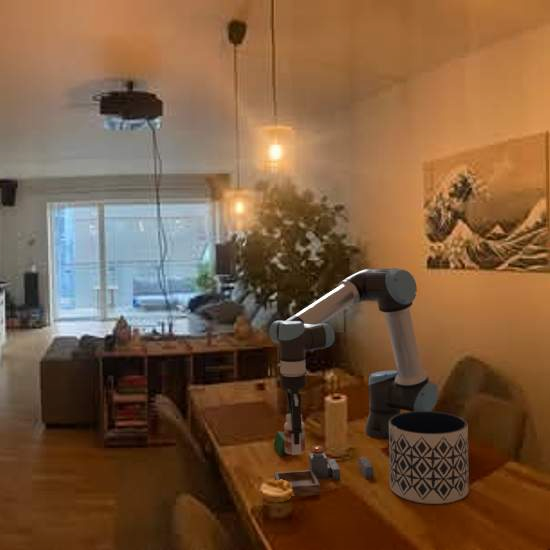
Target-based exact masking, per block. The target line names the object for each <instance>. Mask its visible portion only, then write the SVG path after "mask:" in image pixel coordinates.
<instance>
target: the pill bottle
mask: <svg viewBox="0 0 550 550" xmlns="http://www.w3.org/2000/svg"><path fill="white" fill-rule="evenodd" d="M285 417H286V418H285V419H286V422H285V423H284V425H283V432H284V440H285V452H286V453H287V455H288V454H289V455H292V439H291V434H290V432H292V423H291V413H290V414H288V413H287V414H286V415H285ZM305 427H306V425H305V423H304V422H303V415H302V414H301V428H302V433H301V455H302V454H304V453H305V452H306V428H305Z"/></svg>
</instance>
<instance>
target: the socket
mask: <svg viewBox="0 0 550 550" xmlns="http://www.w3.org/2000/svg"><path fill="white" fill-rule="evenodd" d="M308 467H309V468H308V470H313V471H314V473H315V476H316V478H317V480H329V478H330V479H331V480H332V482H334V481H335V482H336V481H341V469H340V466H339V465H338V463H337V461H336V459H335V458H331V459H328V457H327V455H326V453H325V452H323V453H322V457H320V458H314V453H308ZM358 469H359V470H360V471H361V473H362V475H363V476H364V478H365V479H374V466H373V464H372V463H371V462H370V460H369V458H368V457H367V456H360V457H358Z"/></svg>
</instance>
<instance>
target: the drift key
mask: <svg viewBox="0 0 550 550" xmlns="http://www.w3.org/2000/svg"><path fill="white" fill-rule="evenodd" d="M310 452H311V454H313V453H314V458H320V457H322V453H325V446H323V445H312V446H311V450H310Z"/></svg>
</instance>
